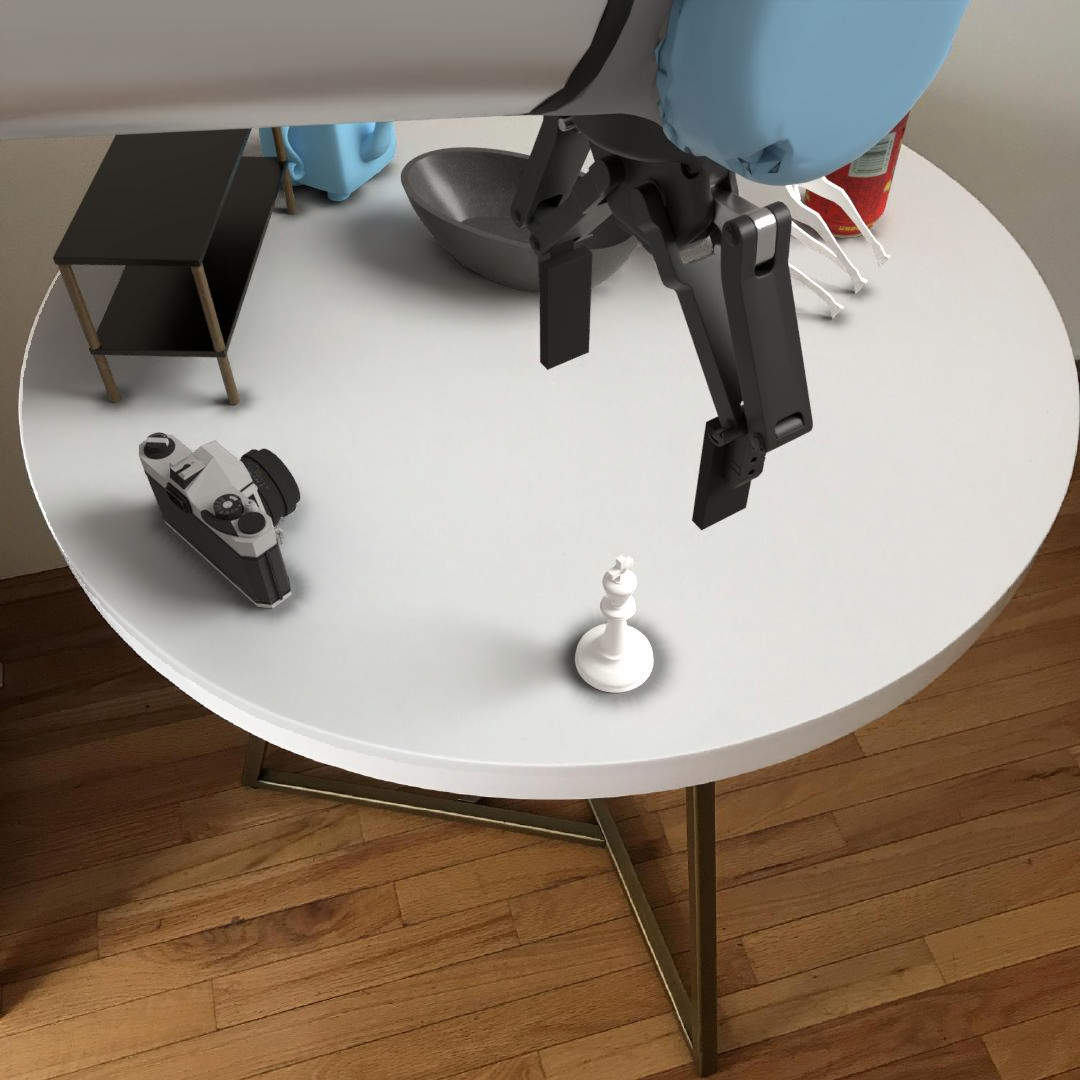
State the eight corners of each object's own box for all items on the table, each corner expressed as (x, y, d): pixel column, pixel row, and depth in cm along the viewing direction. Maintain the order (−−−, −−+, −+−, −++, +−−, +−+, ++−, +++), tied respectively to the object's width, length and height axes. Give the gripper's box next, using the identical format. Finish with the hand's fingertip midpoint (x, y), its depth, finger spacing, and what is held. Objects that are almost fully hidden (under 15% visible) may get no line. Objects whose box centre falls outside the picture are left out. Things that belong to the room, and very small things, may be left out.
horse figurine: (805, 352, 105) (600, 174, 107) (909, 235, 91) (671, 32, 93) (778, 382, 102) (568, 199, 104) (880, 266, 88) (636, 56, 90)
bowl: (600, 341, 93) (603, 278, 88) (376, 259, 100) (367, 196, 95) (667, 262, 99) (673, 199, 95) (452, 190, 107) (448, 128, 102)
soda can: (896, 232, 102) (931, 102, 93) (825, 249, 100) (853, 118, 91) (855, 190, 106) (884, 61, 97) (787, 206, 105) (809, 77, 96)
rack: (238, 405, 88) (198, 260, 78) (109, 402, 88) (52, 257, 78) (297, 209, 105) (270, 68, 95) (188, 207, 105) (150, 67, 95)
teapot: (217, 180, 108) (192, 77, 100) (311, 112, 116) (294, 12, 108) (373, 237, 102) (358, 132, 94) (460, 162, 110) (454, 59, 102)
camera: (356, 553, 79) (332, 454, 72) (267, 622, 75) (233, 523, 68) (237, 472, 85) (205, 375, 78) (150, 532, 81) (108, 434, 75)
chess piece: (558, 656, 73) (559, 555, 65) (615, 615, 75) (623, 512, 67) (612, 707, 70) (619, 608, 63) (669, 662, 73) (683, 561, 65)
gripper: (992, 142, 38) (858, 558, 54) (570, -112, 51) (565, 280, 67) (816, 214, 35) (731, 628, 51) (422, -73, 49) (453, 325, 65)
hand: (636, 431), depth 59 cm, fingers open, 13 cm apart
